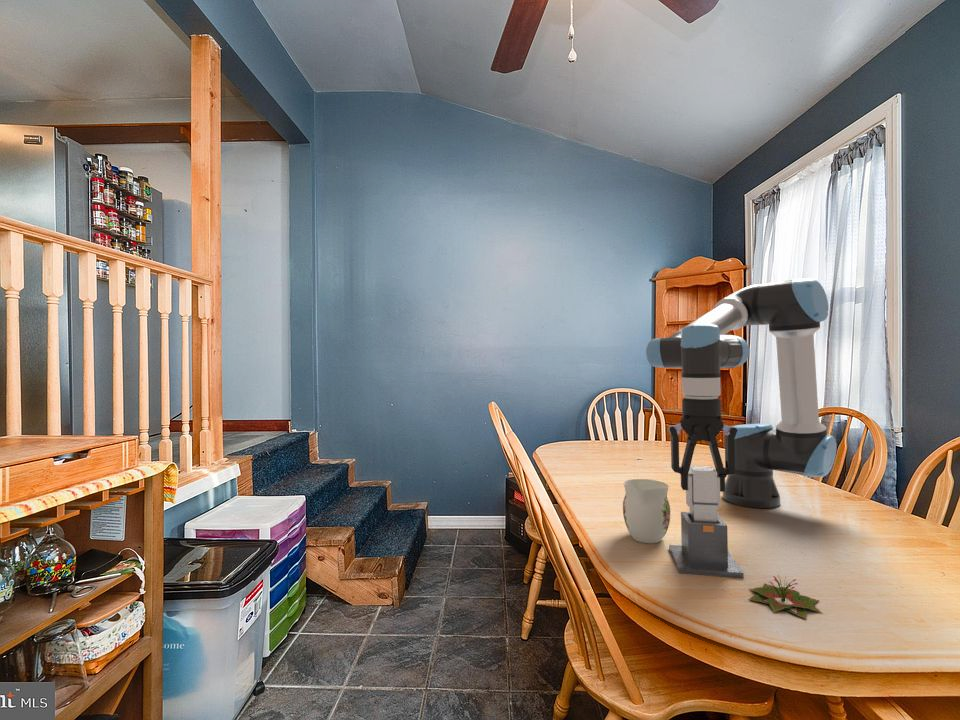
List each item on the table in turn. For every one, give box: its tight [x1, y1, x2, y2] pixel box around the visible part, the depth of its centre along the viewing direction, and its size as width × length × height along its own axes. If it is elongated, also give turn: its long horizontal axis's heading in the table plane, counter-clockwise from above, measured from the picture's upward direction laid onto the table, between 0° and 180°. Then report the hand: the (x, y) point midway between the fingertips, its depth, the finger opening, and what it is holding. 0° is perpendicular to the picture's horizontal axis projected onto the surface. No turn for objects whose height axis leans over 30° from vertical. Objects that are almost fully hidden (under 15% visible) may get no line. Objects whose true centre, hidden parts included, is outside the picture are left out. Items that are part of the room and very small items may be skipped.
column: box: [689, 465, 718, 524], centre depth 100 cm, size 5×5×18 cm
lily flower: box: [747, 574, 823, 621], centre depth 84 cm, size 12×12×5 cm
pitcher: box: [622, 478, 671, 544], centre depth 115 cm, size 11×18×14 cm, turn 155°
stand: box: [668, 511, 745, 579], centre depth 100 cm, size 12×12×10 cm
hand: (702, 505), depth 100 cm, fingers closed on column, 5 cm apart
